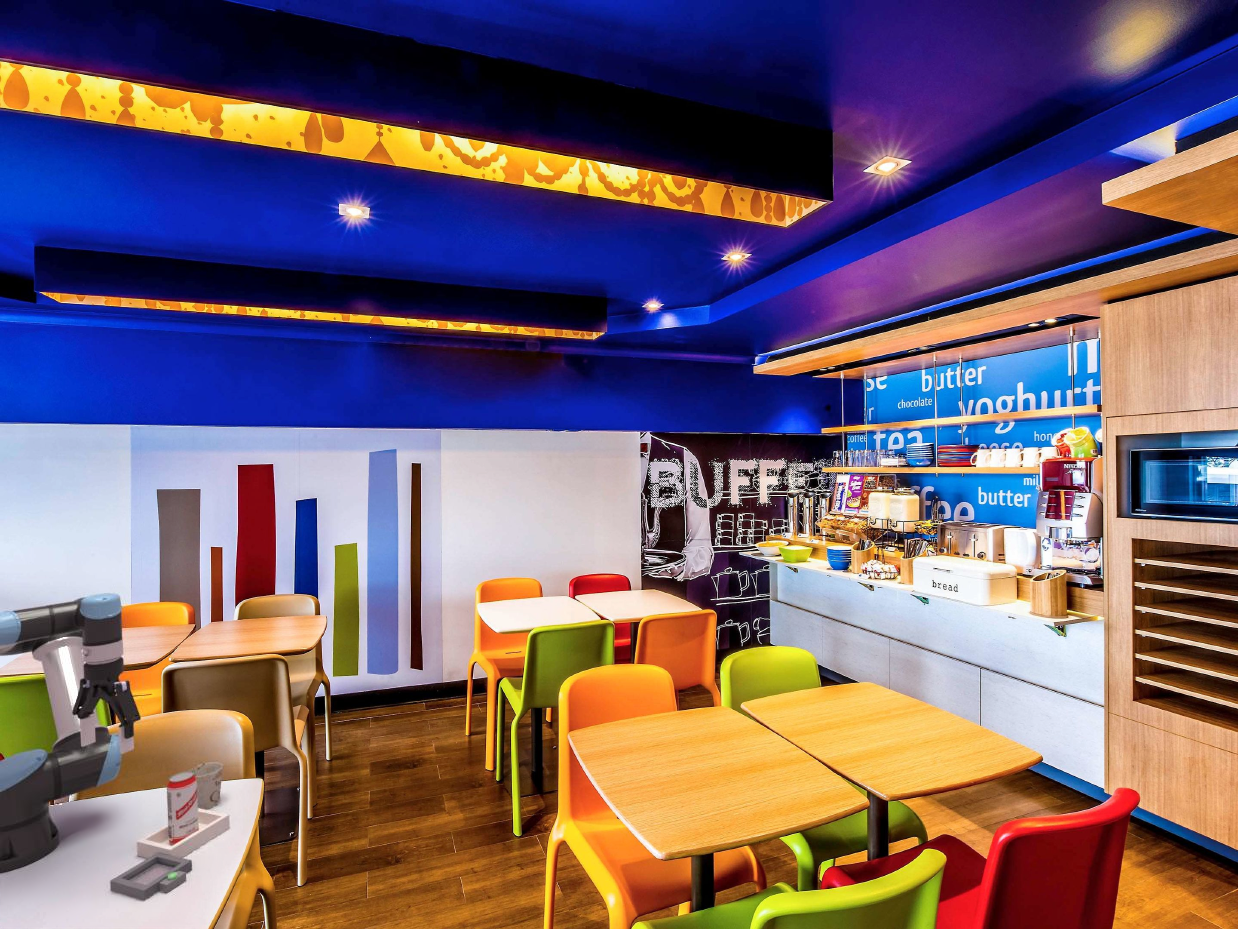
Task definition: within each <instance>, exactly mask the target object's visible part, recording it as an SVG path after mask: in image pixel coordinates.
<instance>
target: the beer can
mask: <svg viewBox="0 0 1238 929" xmlns="http://www.w3.org/2000/svg"><path fill="white" fill-rule="evenodd" d="M166 800H167V801H166V803H167V807H166V808H167V824H168V832H169V842H170V843H171V844H173V845H175V844H176V843H178V842H180V841H181V840H183V839H185V838H186V837H188V836H190V835H191V834H193V833H195V832H196V831H198V830H199V822H198V799H197V779H196V777H195V776H194V772H192V771H189V770H185V771H181V772H178V773H174V774H172V775H171V776H170V777H169V779H168V782H167V784H166Z"/></svg>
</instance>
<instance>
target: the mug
mask: <svg viewBox="0 0 1238 929" xmlns="http://www.w3.org/2000/svg"><path fill="white" fill-rule="evenodd" d="M223 769H224V764H223V762H222V763H221V762H220V761H210V762H205V763H202V764H198V765H196V766H194V767H192V768H190V769H189V770H188V771H192V772H194V776H195V777H196V779H197V799H198V808H200V809H205V810H210V809H212V808H214V807H216V806H217V805H219V803H220V798H221V788H222V781H223V780H222V779H223Z"/></svg>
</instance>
